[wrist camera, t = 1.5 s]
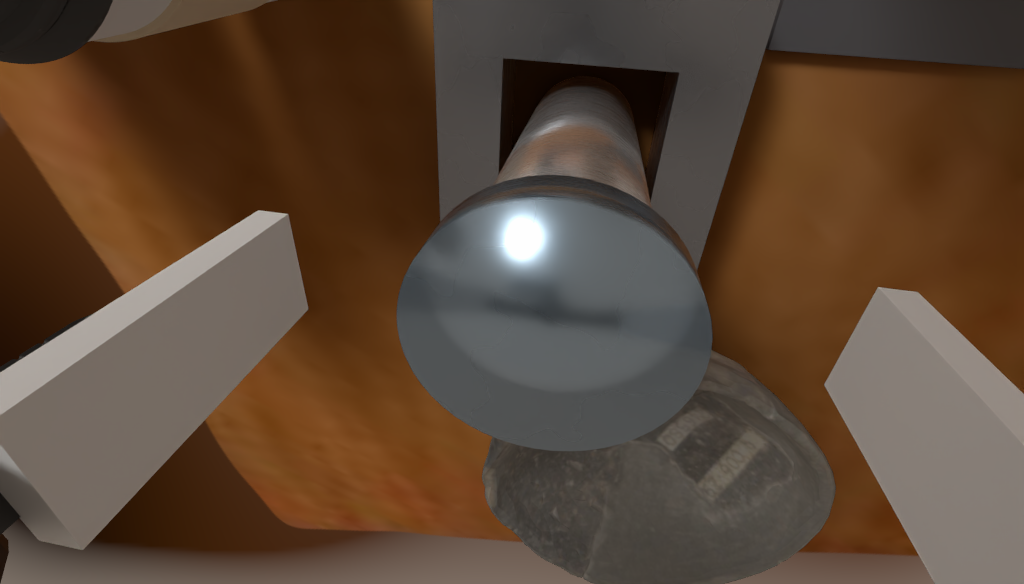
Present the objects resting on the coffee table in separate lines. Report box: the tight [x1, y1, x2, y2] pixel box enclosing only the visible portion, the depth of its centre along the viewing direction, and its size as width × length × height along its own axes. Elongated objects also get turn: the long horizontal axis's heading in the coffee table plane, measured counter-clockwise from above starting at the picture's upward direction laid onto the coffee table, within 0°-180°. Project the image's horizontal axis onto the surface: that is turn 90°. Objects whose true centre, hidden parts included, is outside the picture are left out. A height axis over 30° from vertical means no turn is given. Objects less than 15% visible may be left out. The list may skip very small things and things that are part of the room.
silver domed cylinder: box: [397, 76, 713, 451], centre depth 16 cm, size 6×6×16 cm
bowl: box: [482, 350, 836, 584], centre depth 28 cm, size 18×18×8 cm
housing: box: [433, 0, 780, 270], centre depth 21 cm, size 12×12×4 cm
